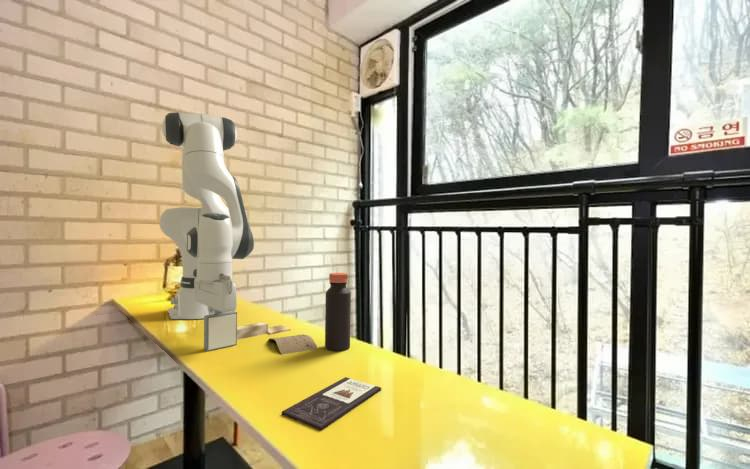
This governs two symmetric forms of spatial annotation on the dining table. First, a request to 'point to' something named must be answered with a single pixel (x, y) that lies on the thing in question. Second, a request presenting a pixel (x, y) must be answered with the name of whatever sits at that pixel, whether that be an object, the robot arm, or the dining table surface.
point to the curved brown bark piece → (294, 343)
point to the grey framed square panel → (220, 330)
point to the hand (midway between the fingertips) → (214, 323)
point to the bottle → (337, 313)
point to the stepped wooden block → (258, 330)
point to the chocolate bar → (331, 403)
